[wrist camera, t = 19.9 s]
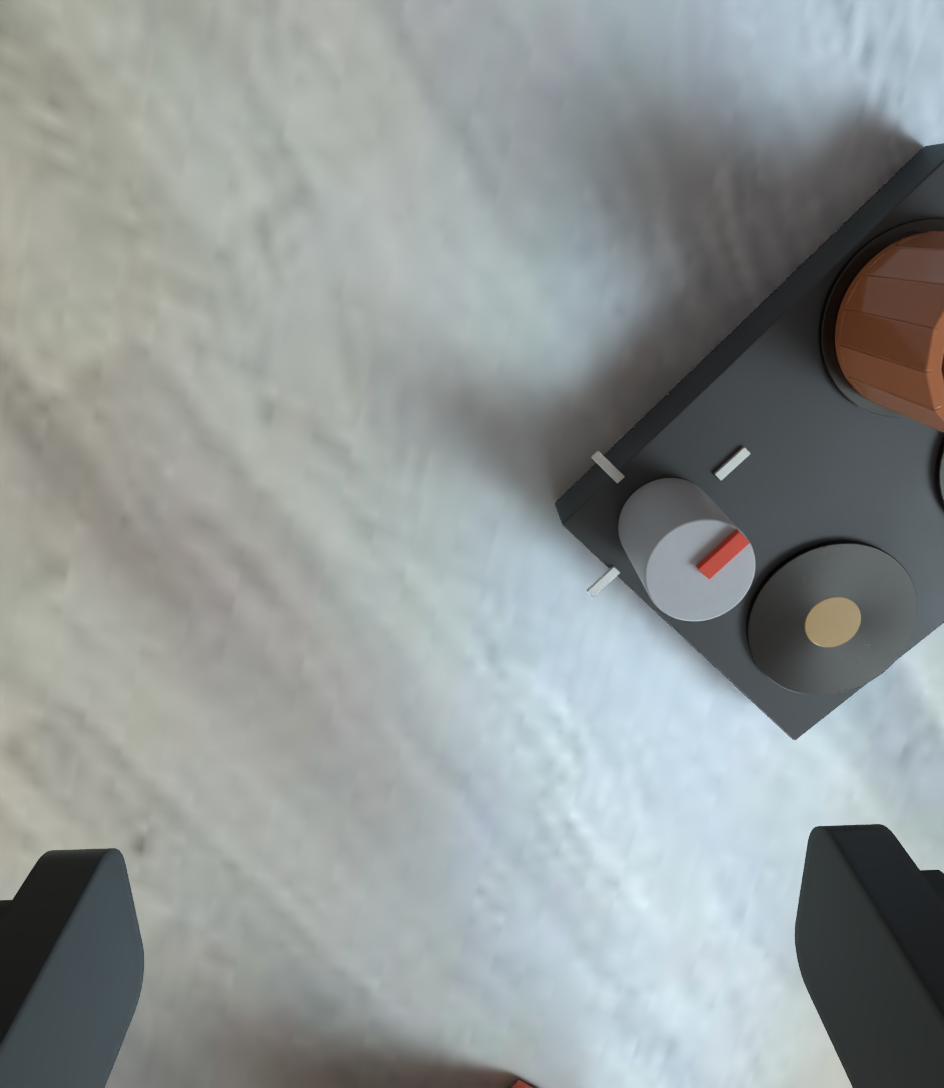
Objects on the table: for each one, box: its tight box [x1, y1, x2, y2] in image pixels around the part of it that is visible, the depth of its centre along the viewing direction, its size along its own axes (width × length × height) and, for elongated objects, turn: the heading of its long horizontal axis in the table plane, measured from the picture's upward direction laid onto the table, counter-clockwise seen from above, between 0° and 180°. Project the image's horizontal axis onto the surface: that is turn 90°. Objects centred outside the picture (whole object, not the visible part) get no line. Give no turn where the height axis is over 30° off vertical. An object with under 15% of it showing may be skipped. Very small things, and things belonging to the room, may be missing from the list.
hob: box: [555, 143, 944, 740], centre depth 32 cm, size 15×19×3 cm
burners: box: [746, 218, 944, 696], centre depth 31 cm, size 14×16×1 cm
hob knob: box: [618, 478, 755, 621], centre depth 29 cm, size 4×4×5 cm
